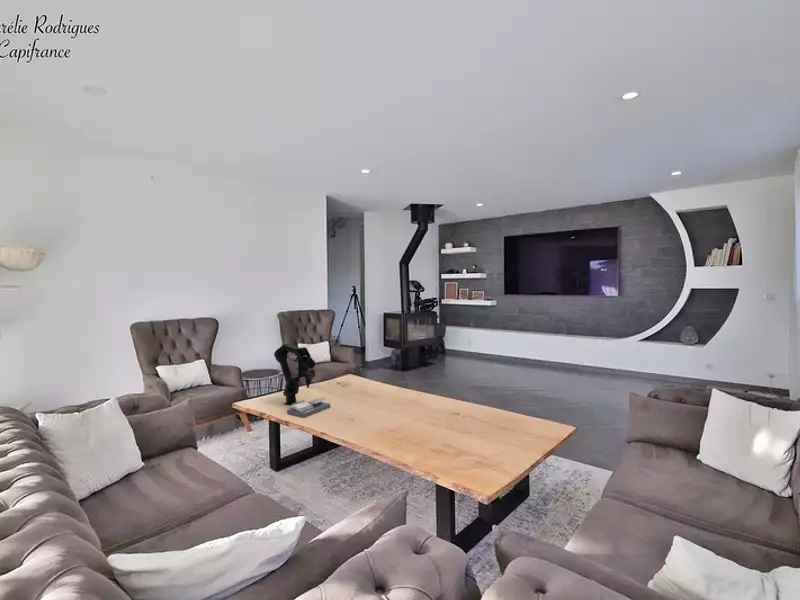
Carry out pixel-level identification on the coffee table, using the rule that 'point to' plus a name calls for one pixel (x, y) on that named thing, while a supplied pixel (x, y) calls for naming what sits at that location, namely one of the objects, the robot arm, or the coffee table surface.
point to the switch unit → (315, 409)
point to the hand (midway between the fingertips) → (302, 389)
